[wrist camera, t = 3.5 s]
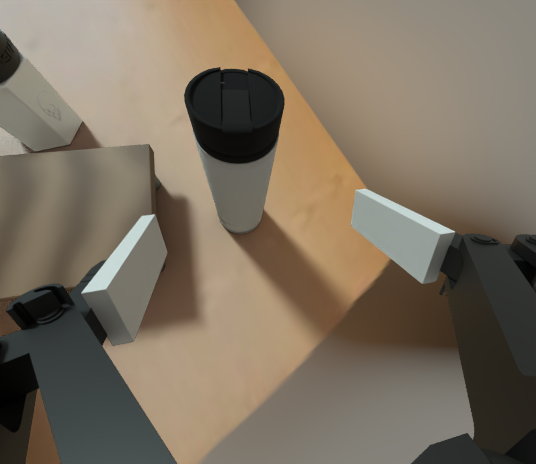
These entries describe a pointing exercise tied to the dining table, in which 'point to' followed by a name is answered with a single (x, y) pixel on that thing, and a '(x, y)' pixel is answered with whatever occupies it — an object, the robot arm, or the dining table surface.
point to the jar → (32, 103)
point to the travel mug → (236, 139)
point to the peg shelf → (69, 212)
